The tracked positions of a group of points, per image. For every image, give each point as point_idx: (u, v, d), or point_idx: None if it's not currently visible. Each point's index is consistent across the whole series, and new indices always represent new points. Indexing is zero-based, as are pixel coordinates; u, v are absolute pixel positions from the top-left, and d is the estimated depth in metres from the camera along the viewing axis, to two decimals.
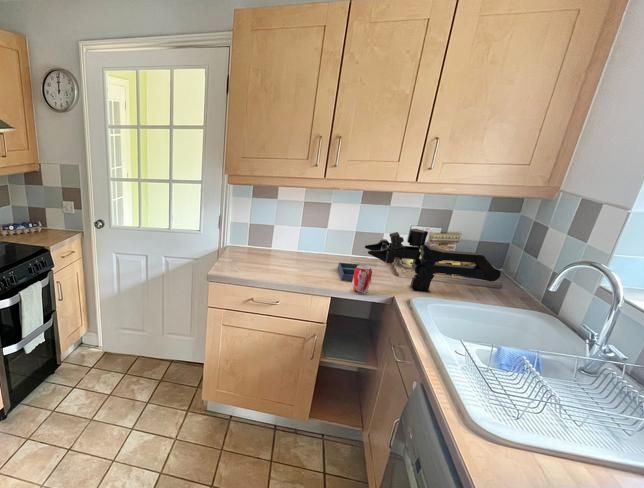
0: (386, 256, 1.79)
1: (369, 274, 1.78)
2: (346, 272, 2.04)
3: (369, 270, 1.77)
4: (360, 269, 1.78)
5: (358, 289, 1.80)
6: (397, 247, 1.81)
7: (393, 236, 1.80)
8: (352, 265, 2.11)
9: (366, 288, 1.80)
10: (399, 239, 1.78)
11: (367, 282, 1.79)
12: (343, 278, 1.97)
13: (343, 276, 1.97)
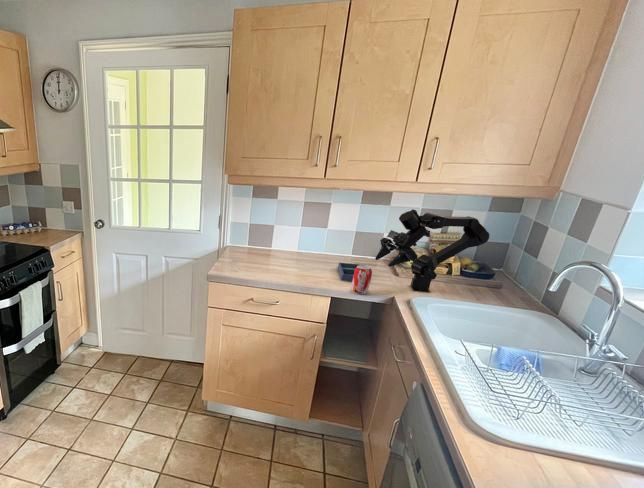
0: (407, 257, 1.71)
1: (369, 274, 1.78)
2: (346, 272, 2.04)
3: (369, 270, 1.77)
4: (360, 269, 1.78)
5: (358, 289, 1.80)
6: (405, 241, 1.74)
7: (394, 237, 1.73)
8: (352, 265, 2.11)
9: (366, 288, 1.80)
10: (402, 236, 1.71)
11: (367, 282, 1.79)
12: (343, 278, 1.97)
13: (343, 276, 1.97)
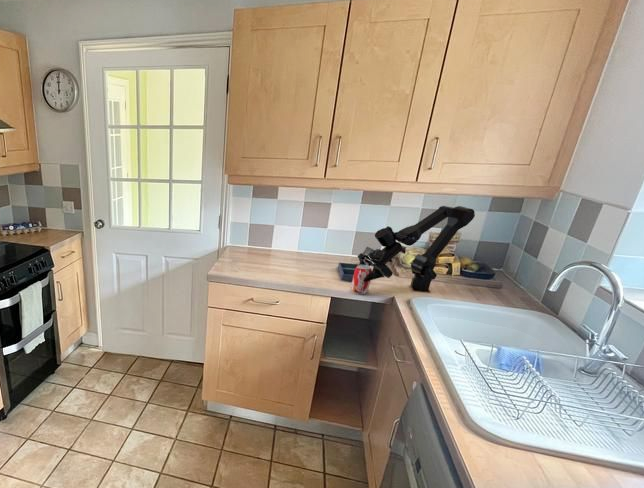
0: (381, 273, 1.74)
1: None
2: (346, 272, 2.04)
3: (369, 270, 1.77)
4: (360, 269, 1.78)
5: (358, 289, 1.80)
6: (381, 257, 1.75)
7: (370, 254, 1.75)
8: (352, 265, 2.11)
9: (366, 288, 1.80)
10: (377, 253, 1.73)
11: (367, 282, 1.79)
12: (343, 278, 1.97)
13: (343, 276, 1.97)
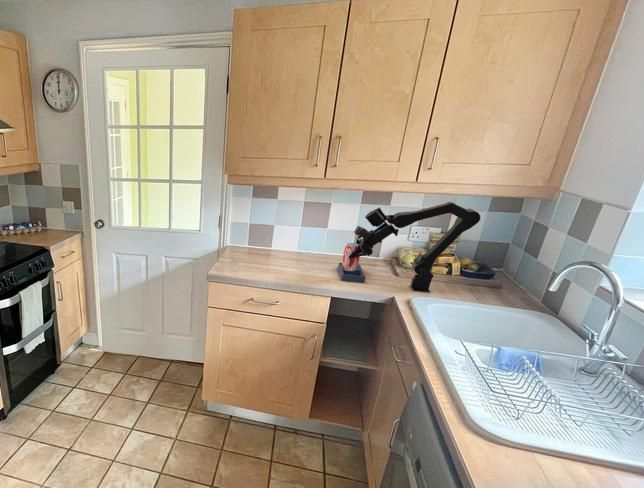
0: (363, 251, 1.83)
1: None
2: (346, 272, 2.04)
3: (355, 248, 1.88)
4: (347, 246, 1.90)
5: (345, 265, 1.93)
6: (367, 237, 1.84)
7: (356, 232, 1.86)
8: None
9: (352, 265, 1.91)
10: (361, 231, 1.83)
11: (353, 259, 1.90)
12: (343, 278, 1.97)
13: (343, 276, 1.97)
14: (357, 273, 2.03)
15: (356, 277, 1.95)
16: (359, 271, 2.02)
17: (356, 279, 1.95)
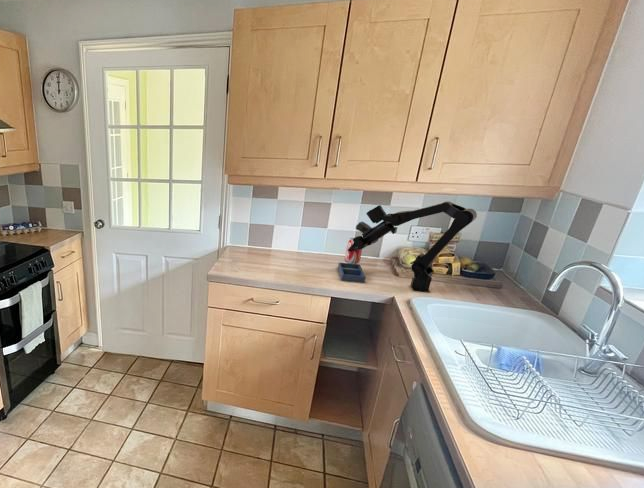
0: None
1: None
2: (346, 272, 2.04)
3: None
4: (349, 240, 2.03)
5: (345, 257, 2.05)
6: (366, 232, 1.95)
7: (356, 227, 1.98)
8: (352, 265, 2.11)
9: (351, 258, 2.03)
10: (359, 226, 1.95)
11: (352, 252, 2.02)
12: (343, 278, 1.97)
13: (343, 276, 1.97)
14: (357, 273, 2.03)
15: (356, 277, 1.95)
16: (359, 271, 2.02)
17: (356, 279, 1.95)
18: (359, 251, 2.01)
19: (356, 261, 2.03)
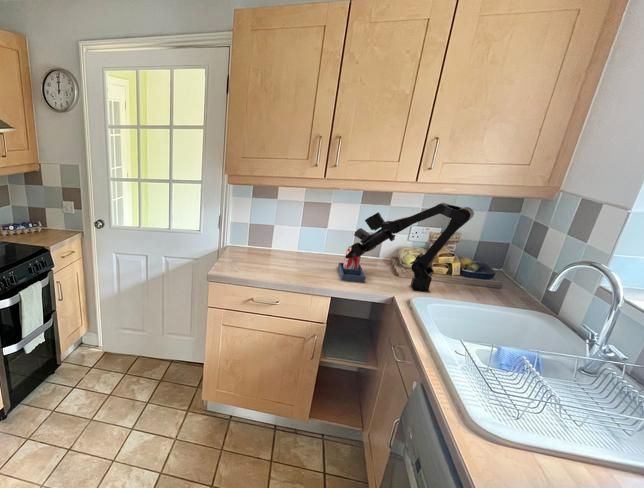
0: None
1: None
2: (346, 272, 2.04)
3: None
4: None
5: (344, 266, 2.07)
6: (364, 239, 1.96)
7: (355, 234, 1.99)
8: None
9: (350, 266, 2.04)
10: (357, 233, 1.96)
11: (350, 261, 2.03)
12: (343, 278, 1.97)
13: (343, 276, 1.97)
14: (357, 273, 2.03)
15: (356, 277, 1.95)
16: (359, 271, 2.02)
17: (356, 279, 1.95)
18: (357, 260, 2.03)
19: None
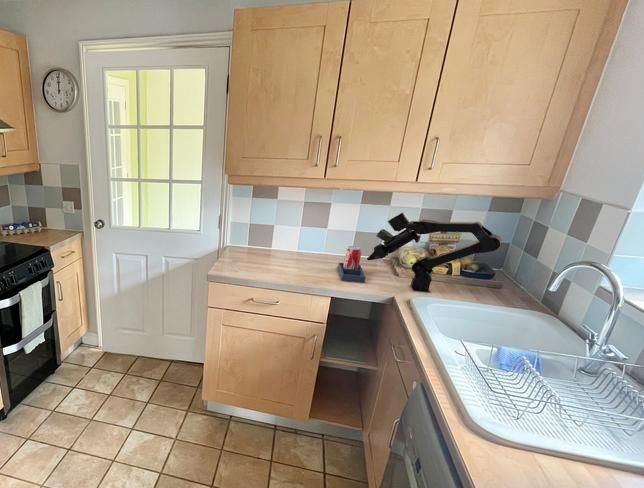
0: None
1: (352, 254, 2.02)
2: (346, 272, 2.04)
3: (353, 250, 2.01)
4: (348, 248, 2.04)
5: (344, 266, 2.07)
6: (387, 240, 1.88)
7: (377, 235, 1.91)
8: None
9: (350, 266, 2.04)
10: (380, 234, 1.88)
11: (350, 261, 2.03)
12: (343, 278, 1.97)
13: (343, 276, 1.97)
14: (357, 273, 2.03)
15: (356, 277, 1.95)
16: (359, 271, 2.02)
17: (356, 279, 1.95)
18: (357, 260, 2.03)
19: None
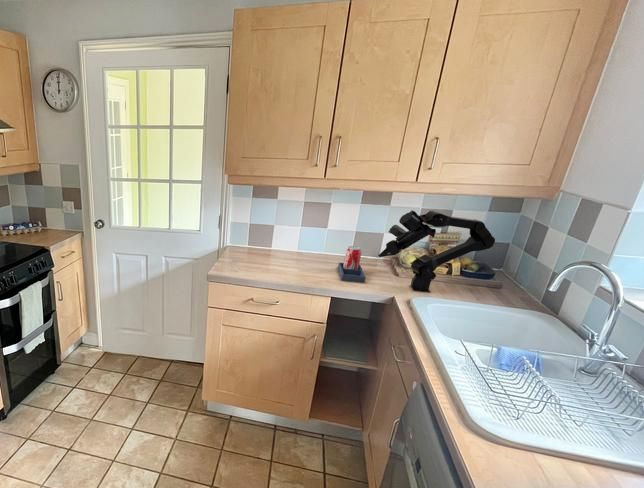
0: (390, 250, 1.80)
1: (352, 254, 2.02)
2: (346, 272, 2.04)
3: (353, 250, 2.01)
4: (348, 248, 2.04)
5: (344, 266, 2.07)
6: (400, 236, 1.81)
7: (389, 230, 1.84)
8: None
9: (350, 266, 2.04)
10: (393, 230, 1.81)
11: (350, 261, 2.03)
12: (343, 278, 1.97)
13: (343, 276, 1.97)
14: (357, 273, 2.03)
15: (356, 277, 1.95)
16: (359, 271, 2.02)
17: (356, 279, 1.95)
18: (357, 260, 2.03)
19: None
